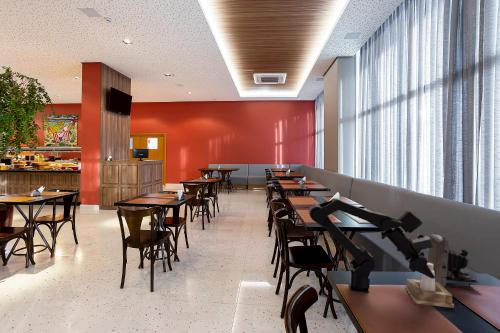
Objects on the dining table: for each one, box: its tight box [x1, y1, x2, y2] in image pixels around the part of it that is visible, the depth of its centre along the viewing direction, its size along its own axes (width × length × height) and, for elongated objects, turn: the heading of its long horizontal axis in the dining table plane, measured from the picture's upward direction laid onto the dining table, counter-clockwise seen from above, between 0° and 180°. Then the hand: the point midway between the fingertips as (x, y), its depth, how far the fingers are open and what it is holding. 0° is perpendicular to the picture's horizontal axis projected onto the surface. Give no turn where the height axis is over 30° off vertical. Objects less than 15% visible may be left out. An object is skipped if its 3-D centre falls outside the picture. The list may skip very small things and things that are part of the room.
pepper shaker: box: [420, 263, 435, 291], centre depth 105 cm, size 5×5×11 cm
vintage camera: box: [427, 232, 480, 288], centre depth 116 cm, size 10×15×20 cm, turn 79°
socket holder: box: [404, 278, 455, 309], centre depth 105 cm, size 12×12×4 cm
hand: (432, 275), depth 104 cm, fingers closed on pepper shaker, 4 cm apart
